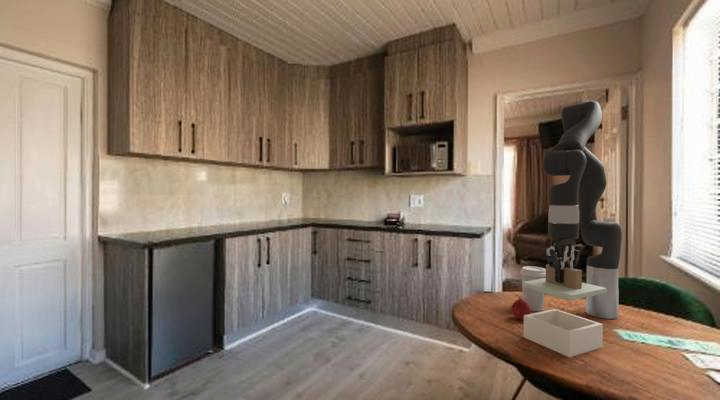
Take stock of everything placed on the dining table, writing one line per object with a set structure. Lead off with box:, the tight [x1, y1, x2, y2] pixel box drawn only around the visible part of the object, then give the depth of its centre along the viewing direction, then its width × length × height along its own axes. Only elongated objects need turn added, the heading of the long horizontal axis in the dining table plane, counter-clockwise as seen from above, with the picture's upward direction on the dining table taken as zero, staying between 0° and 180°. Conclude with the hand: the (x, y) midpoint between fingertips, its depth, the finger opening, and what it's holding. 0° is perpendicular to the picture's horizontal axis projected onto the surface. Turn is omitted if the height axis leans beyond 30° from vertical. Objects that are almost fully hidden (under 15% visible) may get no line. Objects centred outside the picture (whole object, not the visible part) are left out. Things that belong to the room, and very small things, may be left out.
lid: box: [521, 264, 607, 302], centre depth 99 cm, size 15×15×7 cm
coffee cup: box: [519, 265, 546, 312], centre depth 130 cm, size 10×10×15 cm
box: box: [523, 308, 604, 358], centre depth 99 cm, size 14×14×7 cm
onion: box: [511, 296, 531, 321], centre depth 118 cm, size 6×6×8 cm
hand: (563, 281), depth 99 cm, fingers closed on lid, 2 cm apart
